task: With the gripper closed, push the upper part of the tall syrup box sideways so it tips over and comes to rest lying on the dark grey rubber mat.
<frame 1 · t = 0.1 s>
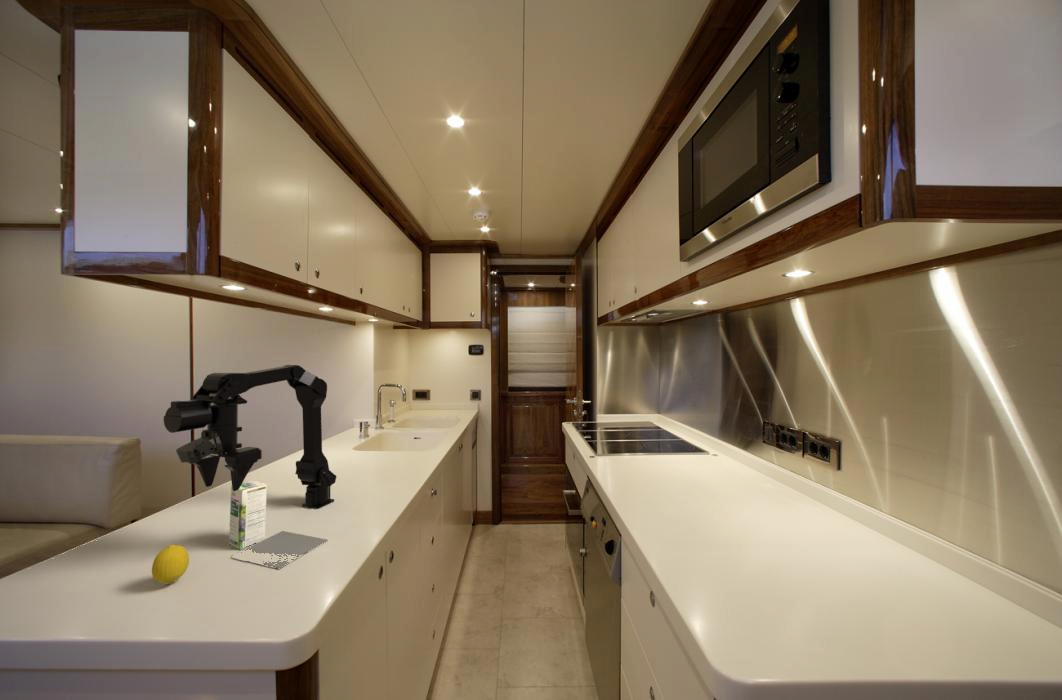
hand: (222, 488, 91), 15 cm above the worktop, tool pointing down, fingers open, 9 cm apart
mat: (281, 549, 90), on the worktop
lemon: (170, 584, 77), on the worktop
syrup box: (247, 543, 93), on the worktop
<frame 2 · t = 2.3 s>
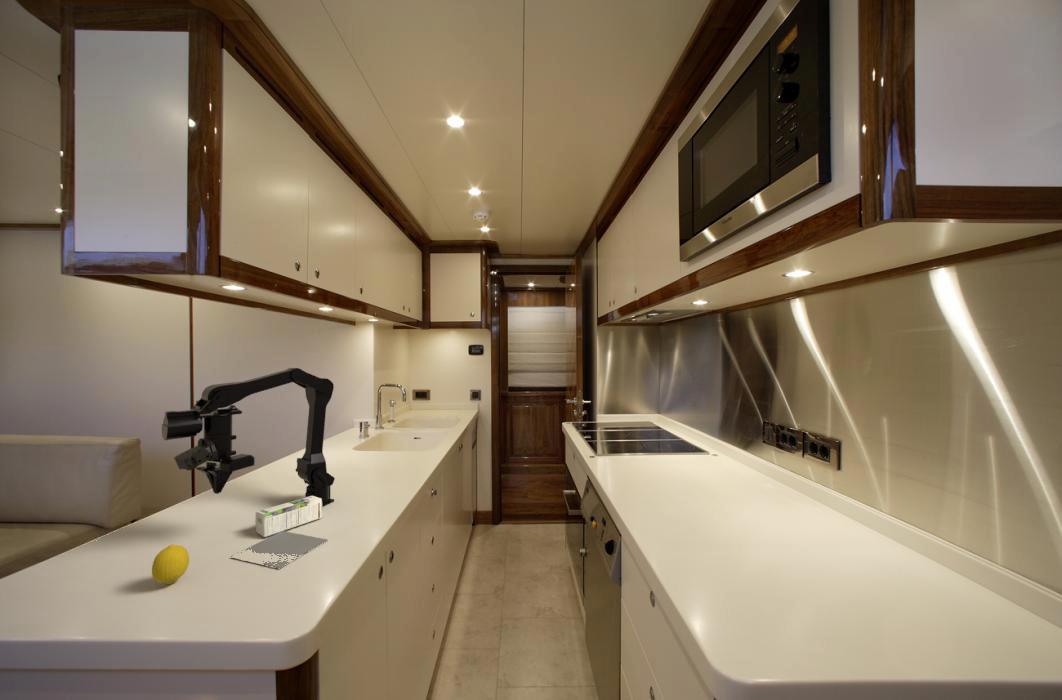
hand: (217, 493, 97), 11 cm above the worktop, tool pointing down, fingers closed
syrup box: (258, 525, 96), point 3 cm above the worktop, touching mat
everything else where it was.
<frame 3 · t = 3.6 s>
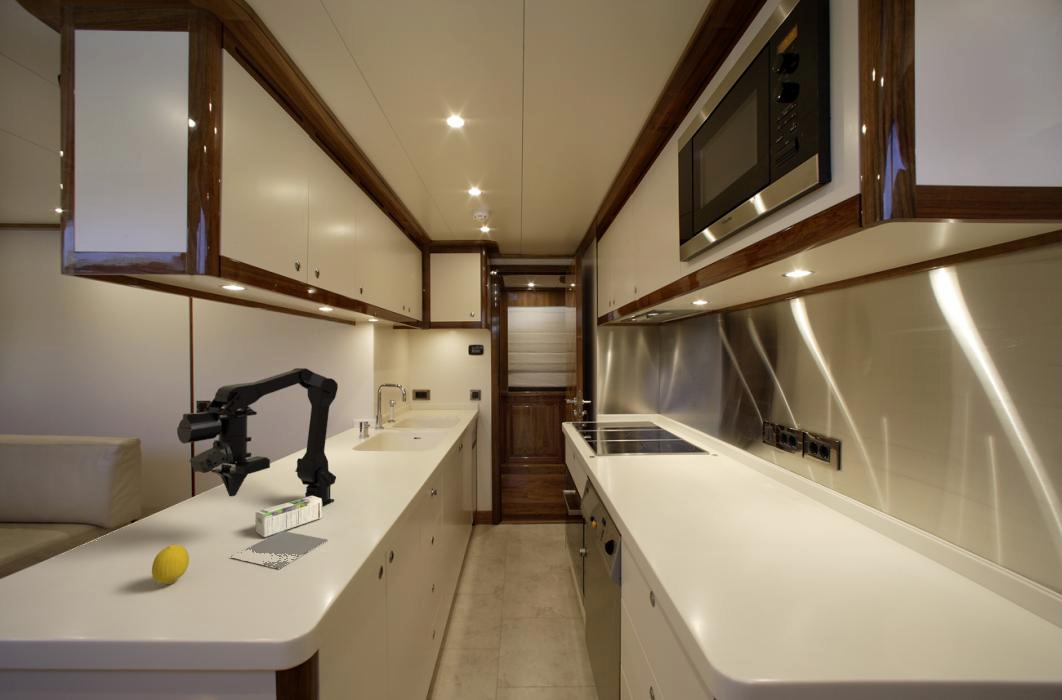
hand: (232, 495, 95), 11 cm above the worktop, tool pointing down, fingers closed
nothing on the worktop moved.
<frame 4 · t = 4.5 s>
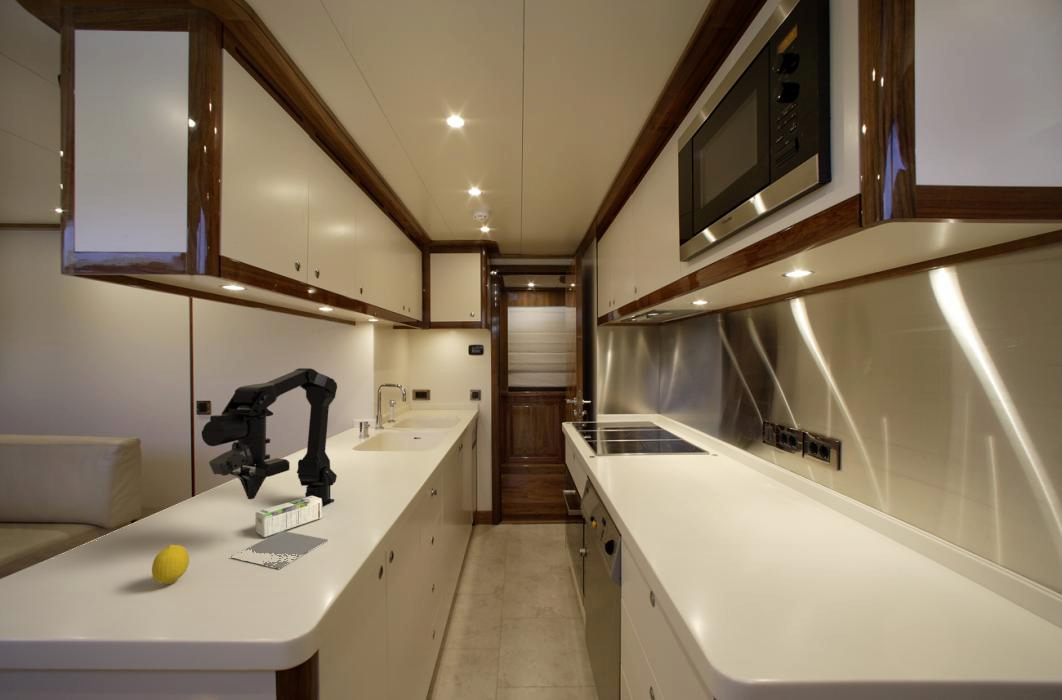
hand: (251, 498, 93), 11 cm above the worktop, tool pointing down, fingers closed
nothing on the worktop moved.
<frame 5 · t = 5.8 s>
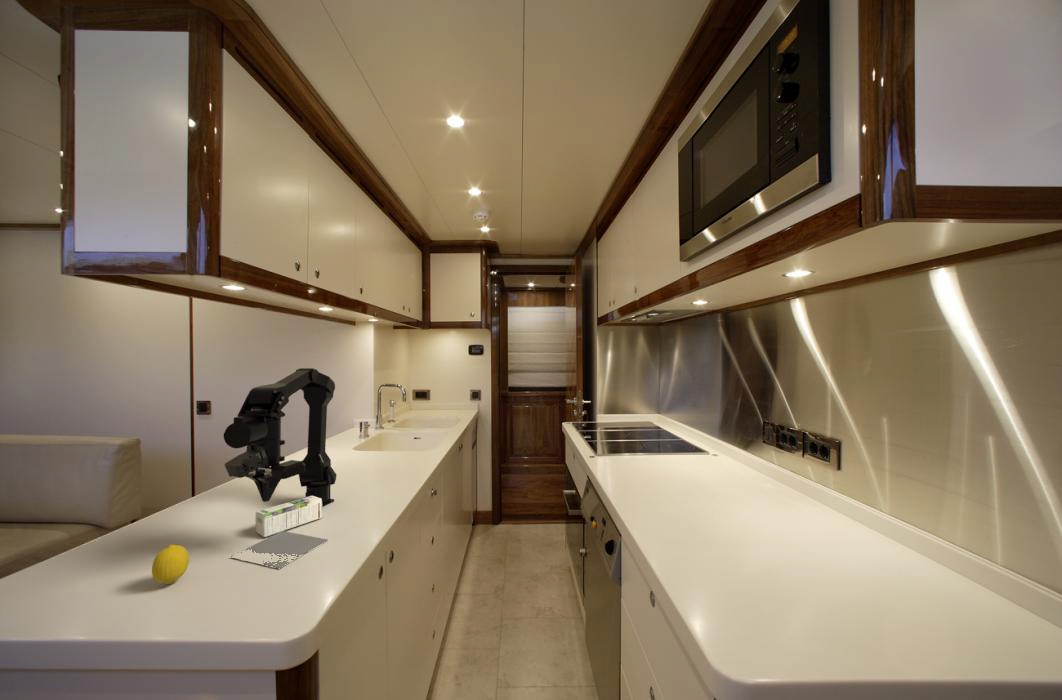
hand: (266, 501, 92), 11 cm above the worktop, tool pointing down, fingers closed
nothing on the worktop moved.
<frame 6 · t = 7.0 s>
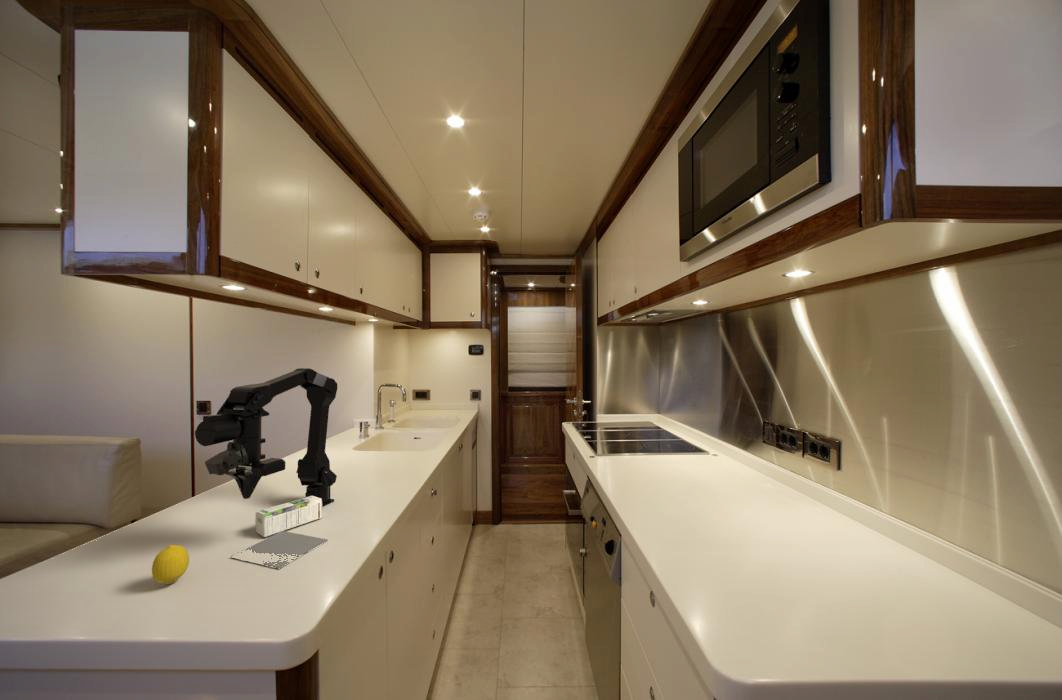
hand: (246, 498, 94), 11 cm above the worktop, tool pointing down, fingers closed
nothing on the worktop moved.
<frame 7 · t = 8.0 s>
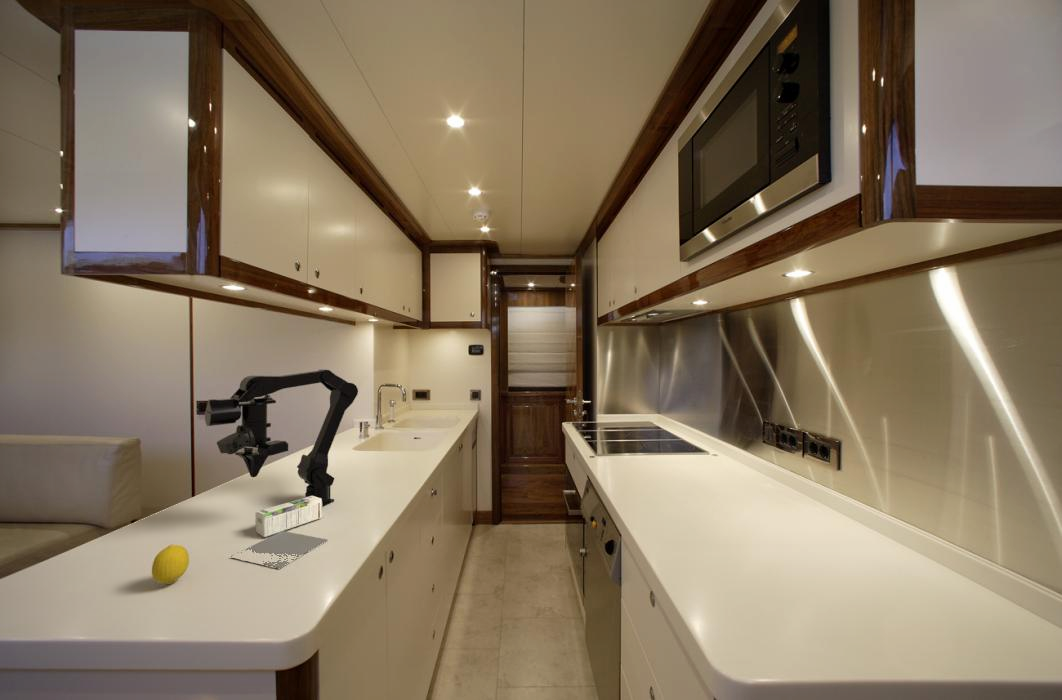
hand: (253, 476, 104), 13 cm above the worktop, tool pointing down, fingers closed
nothing on the worktop moved.
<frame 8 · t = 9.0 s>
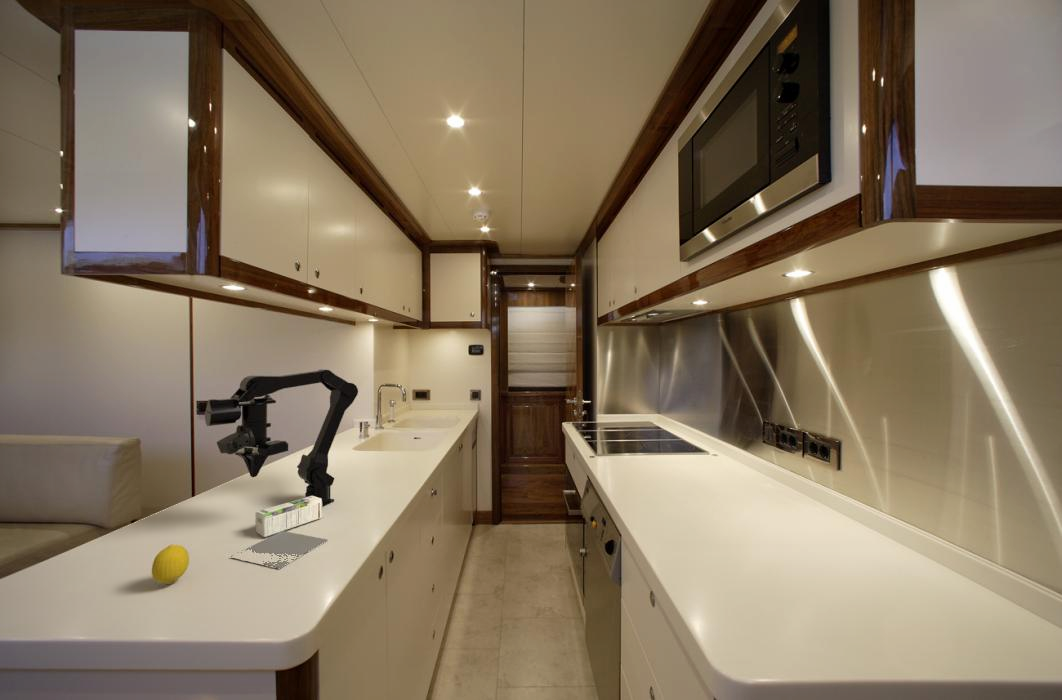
hand: (253, 476, 104), 13 cm above the worktop, tool pointing down, fingers closed
nothing on the worktop moved.
at the end: syrup box tilted 89°; syrup box inside the target area (6.6 cm from its centre), point 2.9 cm above the worktop; syrup box touching mat, worktop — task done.
